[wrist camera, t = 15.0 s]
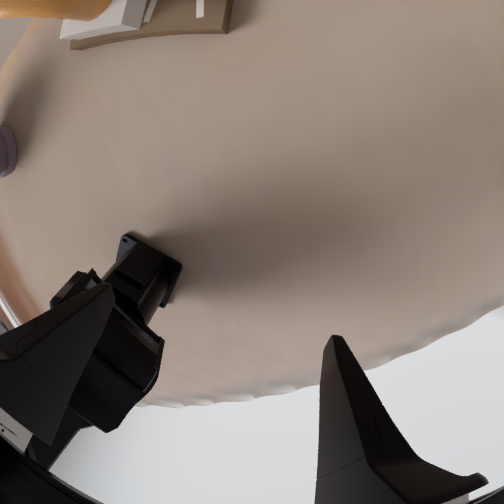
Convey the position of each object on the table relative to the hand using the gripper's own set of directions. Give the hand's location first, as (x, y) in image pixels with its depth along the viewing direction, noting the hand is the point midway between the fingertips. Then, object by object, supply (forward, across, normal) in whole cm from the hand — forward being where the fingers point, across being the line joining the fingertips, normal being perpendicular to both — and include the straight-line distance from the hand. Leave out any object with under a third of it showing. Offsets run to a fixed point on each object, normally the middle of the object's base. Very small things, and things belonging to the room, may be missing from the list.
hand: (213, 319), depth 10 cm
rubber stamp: (+10, +12, -15) cm, 22 cm away
